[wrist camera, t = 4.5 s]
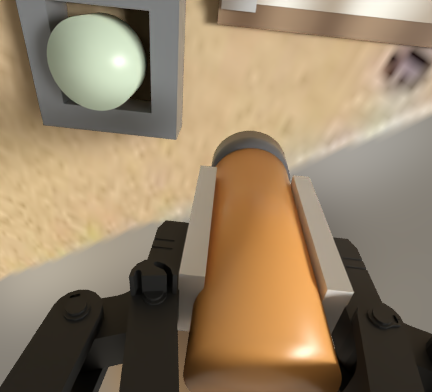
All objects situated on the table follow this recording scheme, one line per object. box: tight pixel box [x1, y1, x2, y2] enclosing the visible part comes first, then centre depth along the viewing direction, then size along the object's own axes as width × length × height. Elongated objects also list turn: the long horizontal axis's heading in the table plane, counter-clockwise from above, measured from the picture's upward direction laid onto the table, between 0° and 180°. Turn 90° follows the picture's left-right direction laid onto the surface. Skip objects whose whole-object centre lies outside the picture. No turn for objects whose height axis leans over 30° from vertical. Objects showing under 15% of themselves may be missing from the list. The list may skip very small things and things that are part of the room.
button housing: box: [16, 0, 186, 140], centre depth 24 cm, size 11×11×3 cm
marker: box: [183, 131, 342, 392], centre depth 13 cm, size 4×4×12 cm
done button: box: [47, 13, 147, 111], centre depth 22 cm, size 6×6×3 cm
